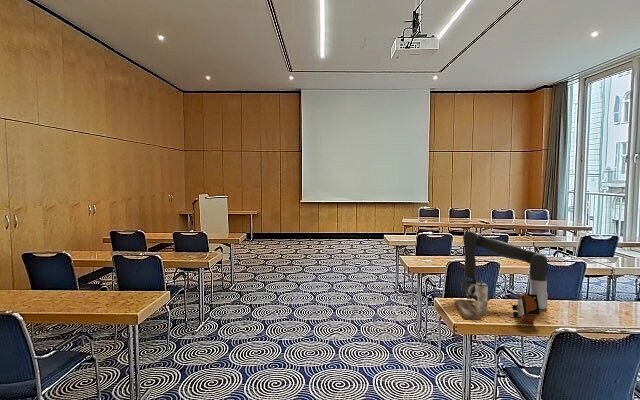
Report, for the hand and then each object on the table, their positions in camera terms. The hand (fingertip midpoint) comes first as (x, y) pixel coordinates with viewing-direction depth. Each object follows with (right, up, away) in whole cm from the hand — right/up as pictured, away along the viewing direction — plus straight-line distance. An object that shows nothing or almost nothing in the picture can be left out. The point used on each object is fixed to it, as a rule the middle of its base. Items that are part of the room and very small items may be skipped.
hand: (482, 299), depth 248 cm
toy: (+18, -9, -13) cm, 25 cm away
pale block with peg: (0, -8, +3) cm, 9 cm away
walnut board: (-8, -8, +4) cm, 12 cm away
